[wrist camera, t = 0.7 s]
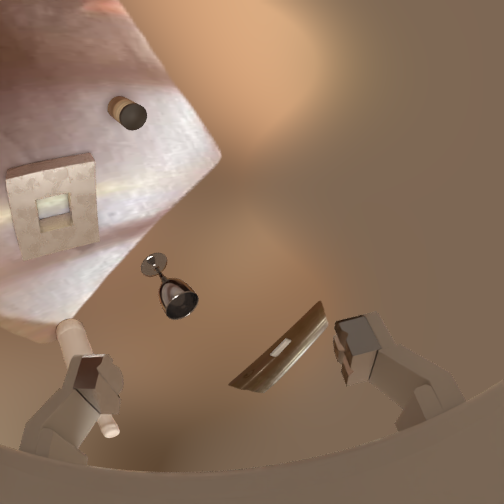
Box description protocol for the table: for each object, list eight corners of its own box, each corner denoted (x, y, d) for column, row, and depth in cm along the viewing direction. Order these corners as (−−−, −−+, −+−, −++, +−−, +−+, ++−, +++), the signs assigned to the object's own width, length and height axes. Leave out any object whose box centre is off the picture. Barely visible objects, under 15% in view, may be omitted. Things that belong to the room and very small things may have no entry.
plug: (103, 112, 43) (116, 124, 37) (115, 92, 42) (130, 100, 36) (121, 120, 46) (138, 134, 40) (133, 101, 45) (151, 111, 40)
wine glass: (145, 283, 73) (172, 325, 64) (134, 262, 67) (161, 305, 58) (172, 267, 76) (202, 306, 67) (163, 245, 70) (194, 285, 61)
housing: (7, 169, 36) (5, 179, 33) (90, 152, 46) (95, 161, 43) (22, 246, 45) (23, 261, 43) (94, 228, 55) (99, 241, 52)
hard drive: (276, 356, 163) (291, 341, 163) (271, 355, 157) (287, 339, 156) (274, 354, 164) (290, 339, 164) (269, 353, 158) (285, 337, 157)
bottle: (60, 315, 60) (102, 427, 43) (87, 320, 66) (135, 423, 49) (52, 337, 61) (90, 444, 44) (77, 340, 67) (121, 440, 50)
